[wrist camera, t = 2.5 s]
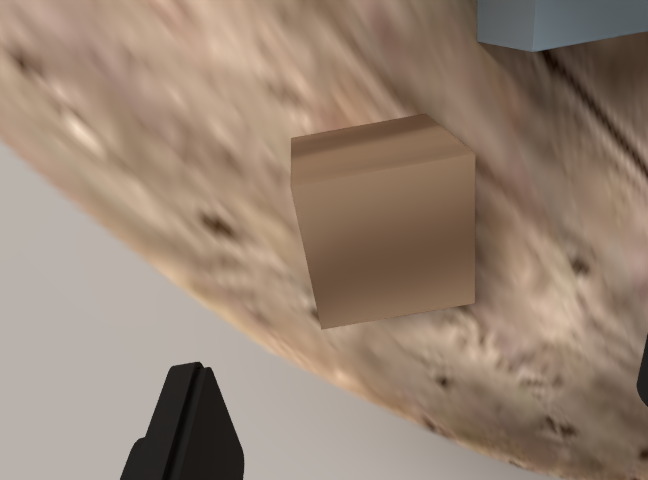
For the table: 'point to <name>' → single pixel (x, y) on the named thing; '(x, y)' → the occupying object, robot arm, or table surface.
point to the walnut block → (385, 219)
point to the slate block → (557, 21)
